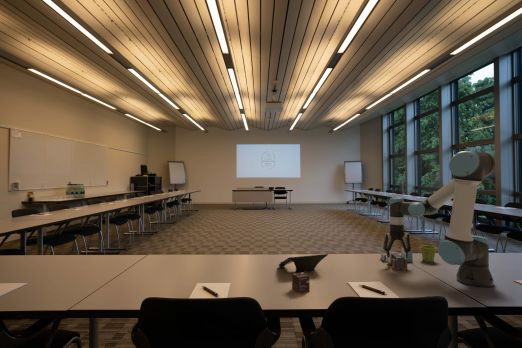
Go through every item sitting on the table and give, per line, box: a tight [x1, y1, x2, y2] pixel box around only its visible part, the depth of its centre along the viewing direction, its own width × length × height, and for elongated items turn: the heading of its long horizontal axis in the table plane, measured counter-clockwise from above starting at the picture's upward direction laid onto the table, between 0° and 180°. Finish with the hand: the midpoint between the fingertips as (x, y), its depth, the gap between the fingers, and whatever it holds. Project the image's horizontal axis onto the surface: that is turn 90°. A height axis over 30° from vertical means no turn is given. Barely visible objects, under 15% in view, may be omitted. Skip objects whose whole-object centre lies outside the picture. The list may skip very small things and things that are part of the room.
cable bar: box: [390, 251, 404, 268], centre depth 176 cm, size 4×12×6 cm, turn 175°
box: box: [291, 272, 310, 294], centre depth 138 cm, size 6×6×7 cm
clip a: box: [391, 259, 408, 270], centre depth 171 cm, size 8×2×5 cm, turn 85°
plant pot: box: [419, 244, 438, 263], centre depth 188 cm, size 9×9×9 cm
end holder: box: [380, 252, 388, 263], centre depth 189 cm, size 8×8×4 cm
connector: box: [400, 246, 414, 263], centre depth 189 cm, size 5×5×8 cm
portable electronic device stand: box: [278, 253, 329, 273], centre depth 168 cm, size 23×23×9 cm
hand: (397, 262), depth 175 cm, fingers open, 8 cm apart
